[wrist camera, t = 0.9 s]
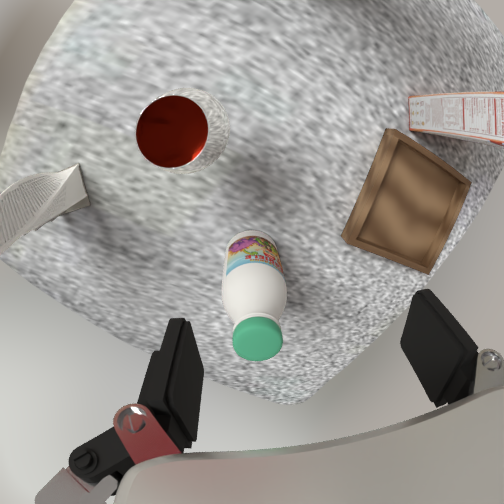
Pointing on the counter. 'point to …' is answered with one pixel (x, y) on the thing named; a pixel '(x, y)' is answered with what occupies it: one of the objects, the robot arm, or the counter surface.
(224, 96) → the counter surface
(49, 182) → the skyscraper
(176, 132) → the wineglass
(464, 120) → the cracker box
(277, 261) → the milk bottle
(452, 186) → the walnut tray
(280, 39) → the counter surface
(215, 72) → the counter surface
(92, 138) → the counter surface
